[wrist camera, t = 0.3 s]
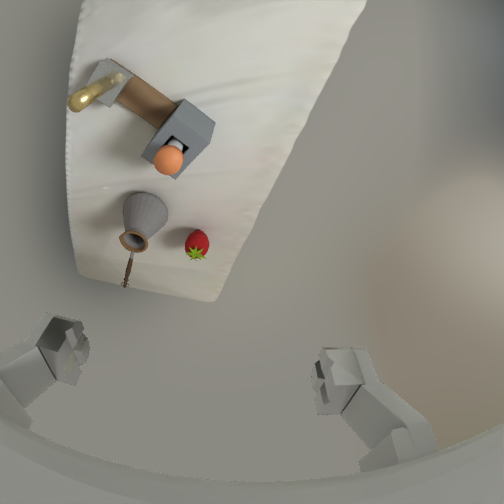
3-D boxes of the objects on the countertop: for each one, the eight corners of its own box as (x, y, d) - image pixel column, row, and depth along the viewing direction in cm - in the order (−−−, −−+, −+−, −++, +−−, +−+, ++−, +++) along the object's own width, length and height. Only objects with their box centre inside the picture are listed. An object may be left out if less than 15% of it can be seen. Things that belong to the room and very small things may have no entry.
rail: (111, 58, 41) (108, 60, 40) (177, 105, 50) (175, 107, 49) (96, 82, 44) (92, 83, 43) (159, 126, 53) (157, 129, 52)
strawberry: (214, 223, 72) (211, 252, 65) (206, 243, 77) (202, 272, 70) (192, 217, 71) (186, 245, 64) (185, 237, 76) (179, 266, 69)
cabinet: (184, 98, 49) (173, 115, 42) (215, 122, 53) (209, 143, 46) (153, 135, 54) (139, 158, 47) (182, 156, 58) (173, 181, 51)
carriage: (107, 57, 39) (70, 74, 29) (134, 75, 43) (102, 96, 33) (90, 85, 43) (52, 110, 33) (115, 102, 46) (82, 130, 37)
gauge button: (178, 120, 48) (164, 144, 41) (197, 134, 51) (187, 161, 43) (164, 136, 51) (148, 164, 43) (182, 150, 53) (170, 179, 45)
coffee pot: (131, 180, 62) (108, 222, 52) (175, 195, 66) (162, 239, 55) (119, 240, 76) (103, 282, 66) (156, 252, 80) (145, 295, 69)
